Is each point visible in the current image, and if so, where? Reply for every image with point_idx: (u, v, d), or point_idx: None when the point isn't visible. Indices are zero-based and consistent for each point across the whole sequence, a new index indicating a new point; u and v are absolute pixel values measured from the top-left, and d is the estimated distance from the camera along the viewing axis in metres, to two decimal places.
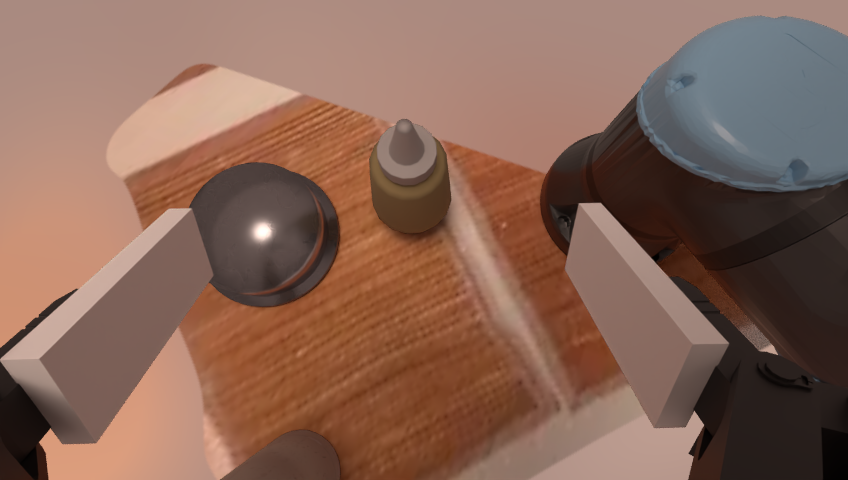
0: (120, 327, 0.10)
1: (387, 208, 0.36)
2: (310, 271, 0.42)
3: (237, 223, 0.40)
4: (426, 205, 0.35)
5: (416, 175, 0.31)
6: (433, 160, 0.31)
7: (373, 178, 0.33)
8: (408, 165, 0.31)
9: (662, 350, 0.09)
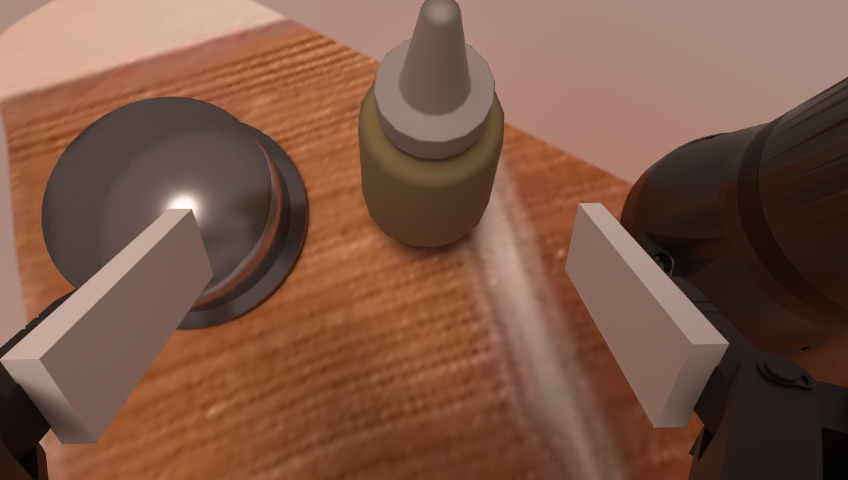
0: (120, 327, 0.10)
1: (382, 199, 0.20)
2: (248, 283, 0.26)
3: (136, 190, 0.24)
4: (452, 204, 0.19)
5: (446, 138, 0.15)
6: (485, 113, 0.15)
7: (363, 138, 0.18)
8: (434, 115, 0.15)
9: (662, 350, 0.09)
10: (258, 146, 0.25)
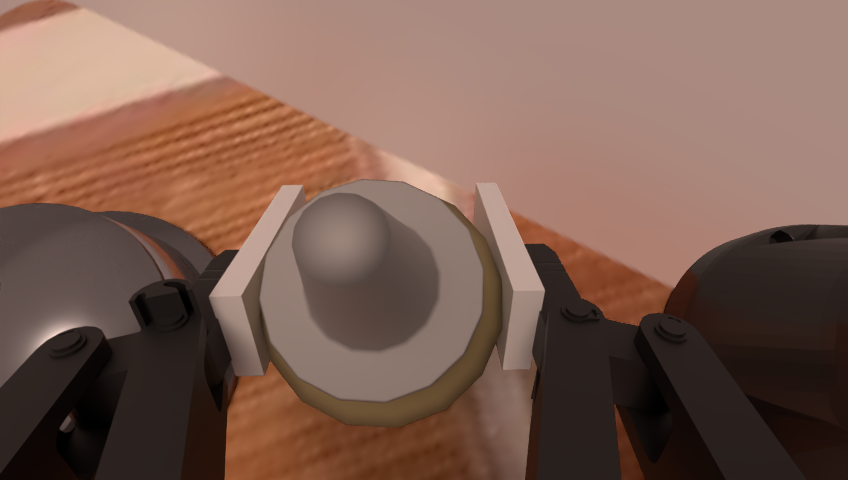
0: None
1: None
2: None
3: None
4: None
5: (393, 394, 0.08)
6: (467, 337, 0.08)
7: (266, 333, 0.11)
8: (368, 353, 0.08)
9: (504, 301, 0.11)
10: (157, 273, 0.18)
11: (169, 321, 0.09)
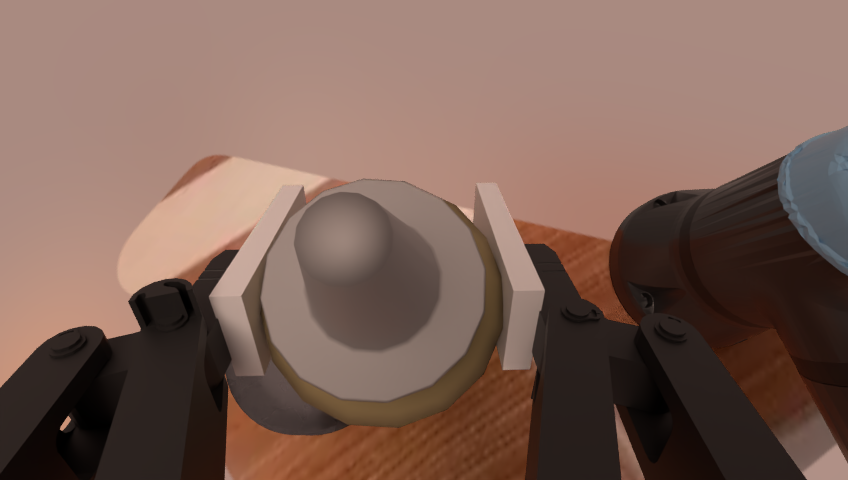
0: None
1: None
2: None
3: None
4: None
5: (395, 395, 0.08)
6: (469, 337, 0.08)
7: (267, 333, 0.11)
8: (369, 353, 0.08)
9: (504, 301, 0.11)
10: None
11: (169, 321, 0.09)
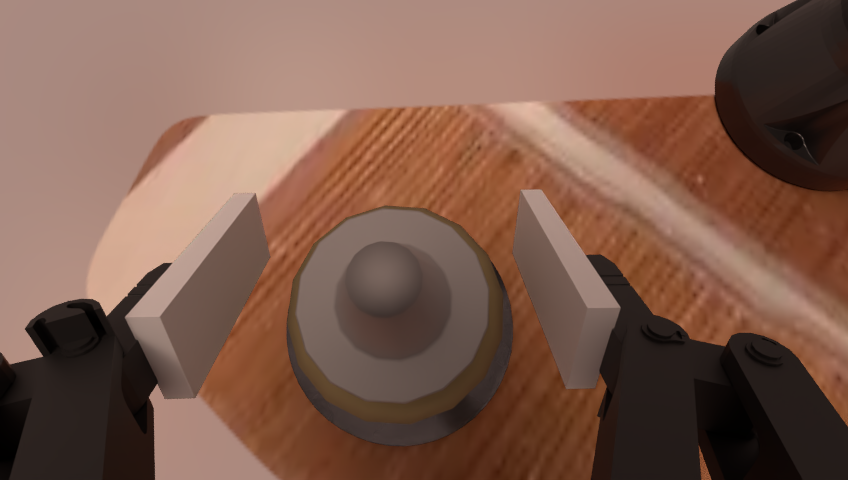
0: (209, 296, 0.11)
1: None
2: None
3: None
4: None
5: (411, 396, 0.09)
6: (474, 348, 0.10)
7: (294, 340, 0.12)
8: (390, 361, 0.09)
9: (570, 317, 0.10)
10: None
11: (77, 345, 0.08)
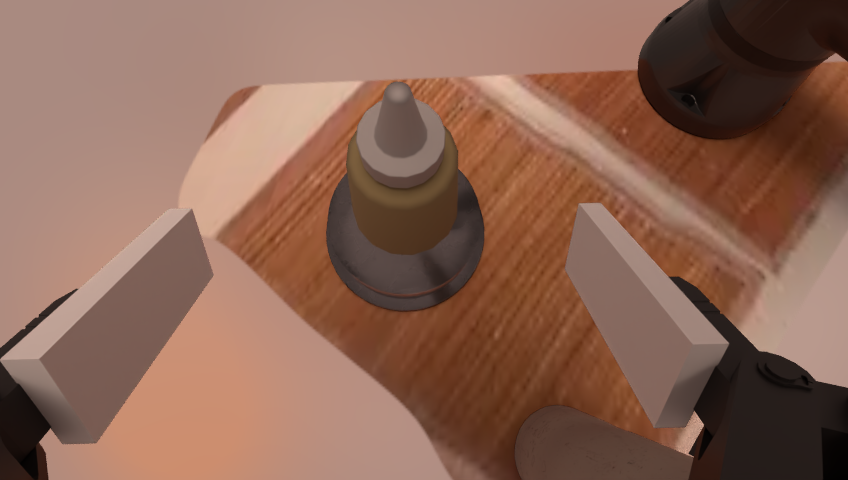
0: (120, 327, 0.10)
1: (367, 217, 0.26)
2: None
3: None
4: (420, 220, 0.25)
5: (409, 174, 0.21)
6: (438, 155, 0.21)
7: (350, 172, 0.23)
8: (400, 157, 0.20)
9: (662, 350, 0.09)
10: None
11: None
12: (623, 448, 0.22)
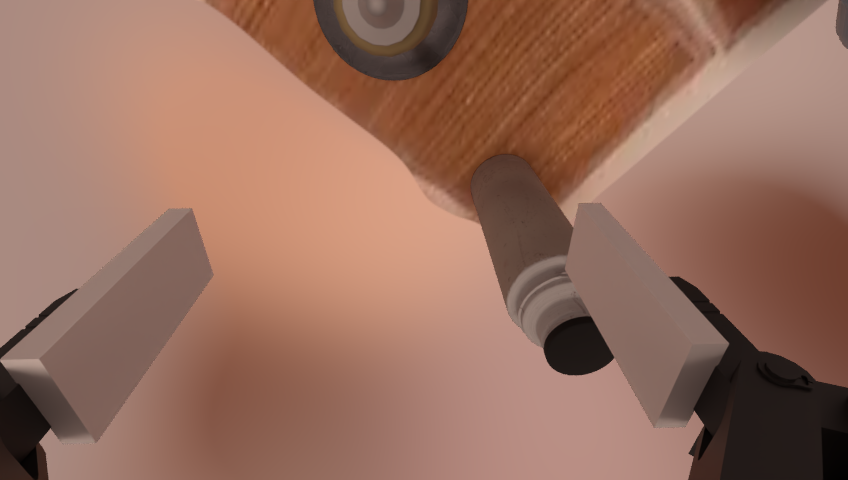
0: (120, 327, 0.10)
1: None
2: None
3: None
4: None
5: (389, 43, 0.25)
6: (413, 24, 0.25)
7: (338, 17, 0.27)
8: (381, 29, 0.24)
9: (662, 350, 0.09)
10: None
11: None
12: (525, 210, 0.37)
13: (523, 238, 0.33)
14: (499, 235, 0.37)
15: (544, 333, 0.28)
